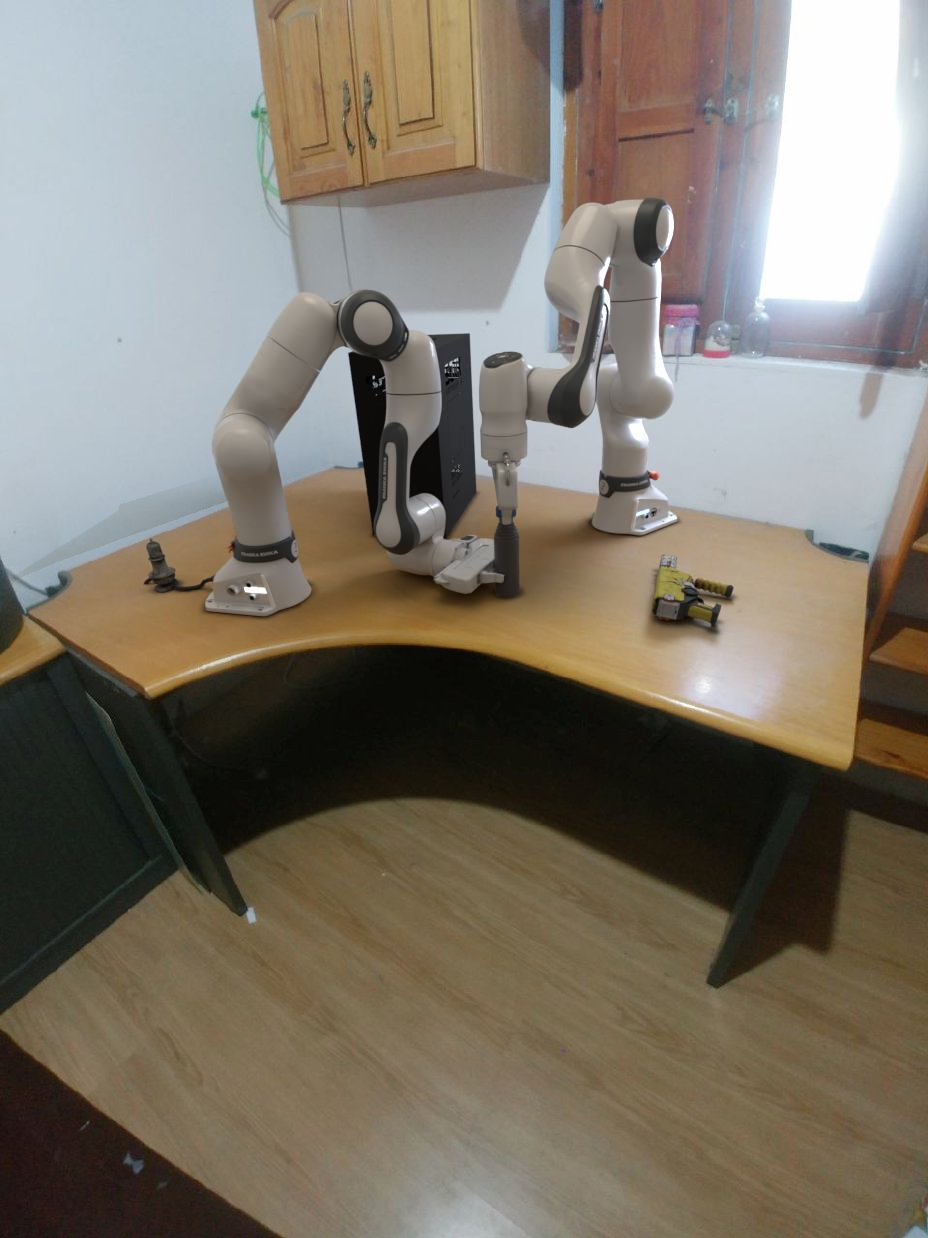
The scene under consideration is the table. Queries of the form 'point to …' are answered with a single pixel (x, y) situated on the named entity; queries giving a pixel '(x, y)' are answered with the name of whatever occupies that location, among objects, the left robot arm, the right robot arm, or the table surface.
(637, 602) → the table surface
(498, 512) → the cap
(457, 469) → the black boxy piece
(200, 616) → the table surface
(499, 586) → the bottle
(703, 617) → the toy gun
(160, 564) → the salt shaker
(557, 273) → the right robot arm
